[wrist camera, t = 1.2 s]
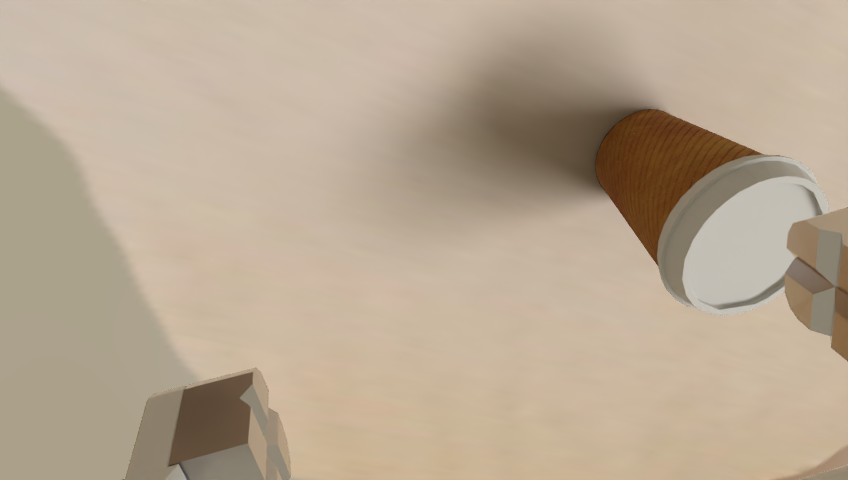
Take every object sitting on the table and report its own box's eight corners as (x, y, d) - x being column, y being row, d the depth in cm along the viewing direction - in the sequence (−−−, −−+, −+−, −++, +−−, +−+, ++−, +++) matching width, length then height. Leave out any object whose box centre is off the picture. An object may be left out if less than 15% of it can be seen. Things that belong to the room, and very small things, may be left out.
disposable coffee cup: (544, 187, 45) (638, 293, 35) (633, 58, 42) (764, 137, 32) (642, 234, 49) (750, 341, 40) (730, 122, 46) (871, 207, 36)
